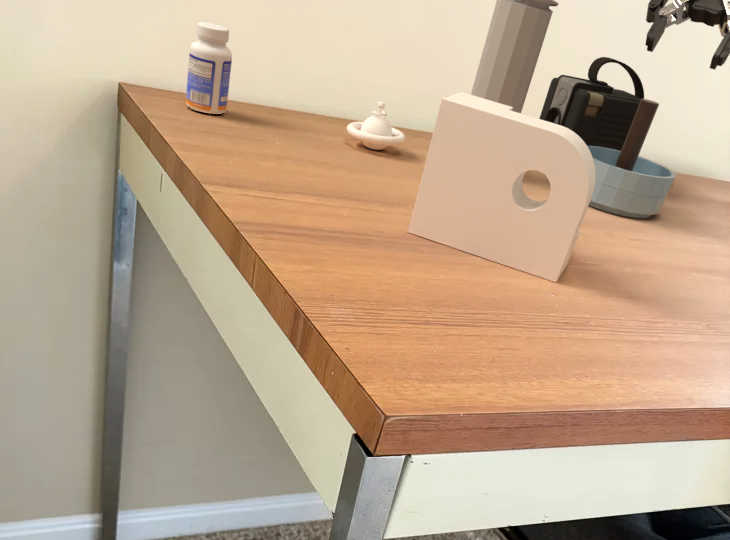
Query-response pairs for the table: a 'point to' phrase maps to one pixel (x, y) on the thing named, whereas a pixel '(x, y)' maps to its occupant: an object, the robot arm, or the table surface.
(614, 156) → the bowl
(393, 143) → the ring around a ball
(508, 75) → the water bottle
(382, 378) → the table surface
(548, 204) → the white holed block
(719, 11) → the robot arm
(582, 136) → the camera
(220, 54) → the pill bottle
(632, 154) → the stirring stick
